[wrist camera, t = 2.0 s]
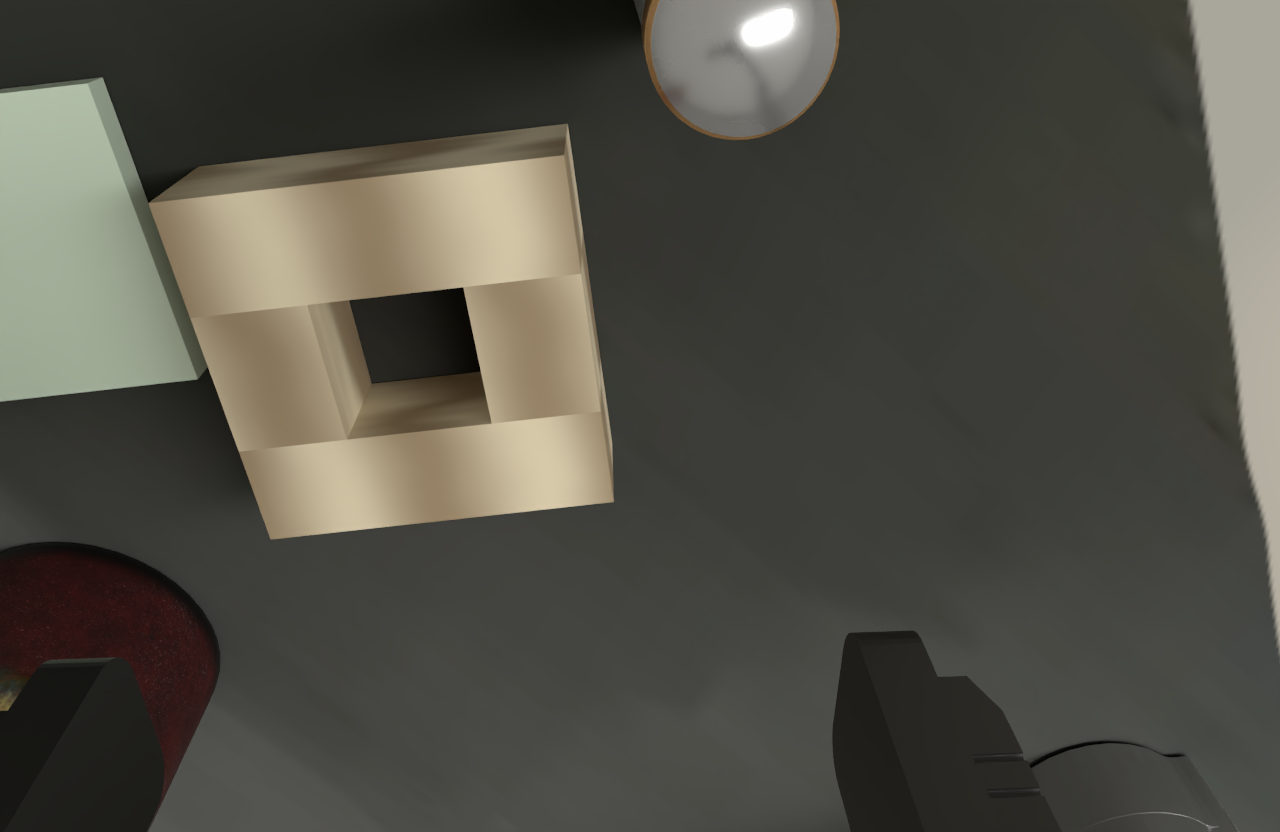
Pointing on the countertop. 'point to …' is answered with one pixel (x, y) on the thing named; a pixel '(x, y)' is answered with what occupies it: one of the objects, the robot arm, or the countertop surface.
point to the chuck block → (383, 266)
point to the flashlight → (739, 60)
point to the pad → (81, 254)
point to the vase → (109, 632)
